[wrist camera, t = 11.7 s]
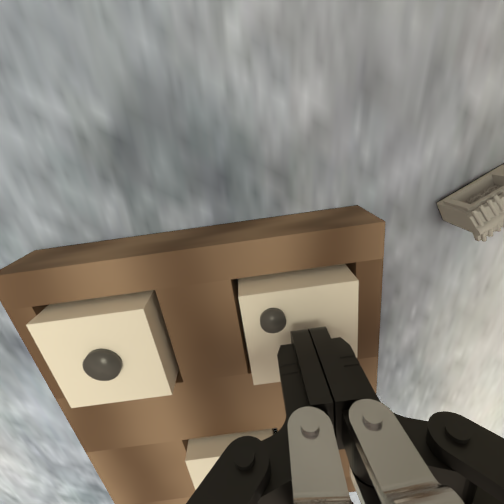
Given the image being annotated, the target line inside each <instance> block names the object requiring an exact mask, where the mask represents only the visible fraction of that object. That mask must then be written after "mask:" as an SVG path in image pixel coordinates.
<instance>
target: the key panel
mask: <svg viewBox="0 0 504 504" xmlns="http://www.w3.org/2000/svg"><path fill="white" fill-rule="evenodd" d="M384 238H385V221H384V220H382V219H380V218H378V217H377V216H375V215H373V214H372V213H370V212H368V211H366V210H365V209H363V208H361V207H360V206H358V205H356V206H348V207H341V208H334V209H327V210H320V211H313V212H306V213H299V214H291V215H284V216H277V217H270V218H263V219H256V220H249V221H241V222H234V223H227V224H220V225H213V226H206V227H199V228H191V229H184V230H177V231H170V232H163V233H156V234H149V235H141V236H134V237H127V238H120V239H113V240H106V241H99V242H92V243H84V244H77V245H70V246H63V247H56V248H49V249H42V250H35V251H33V252H31V253H29V254H27V255H26V256H24V257H22V258H20V259H18V260H17V261H15V262H13V263H11V264H9V265H8V266H6V267H4V268H2V269H0V301H1V303H2V305H3V307H4V308H5V310H6V312H7V314H8V315H9V317H10V319H11V321H12V322H13V324H14V326H15V328H16V330H17V331H18V333H19V335H20V337H21V338H22V340H23V342H24V344H25V345H26V347H27V349H28V351H29V353H30V354H31V356H32V358H33V360H34V361H35V363H36V365H37V367H38V368H39V370H40V372H41V374H42V376H43V377H44V379H45V381H46V383H47V384H48V386H49V388H50V390H51V392H52V393H53V395H54V397H55V399H56V400H57V402H58V404H59V406H60V407H61V409H62V411H63V413H64V415H65V416H66V418H67V420H68V422H69V423H70V425H71V427H72V429H73V430H74V432H75V434H76V436H77V438H78V439H79V441H80V443H81V445H82V446H83V448H84V450H85V452H86V454H87V455H88V457H89V459H90V461H91V462H92V464H93V466H94V468H95V469H96V471H97V473H98V475H99V477H100V478H101V480H102V482H103V484H104V485H105V487H106V489H107V491H108V492H109V494H110V496H111V498H112V500H113V501H114V503H115V504H186V503H187V501H188V500H189V499H190V497H191V496H192V495H193V493H194V492H195V487H194V485H193V482H192V479H191V476H190V473H189V471H188V468H187V465H186V462H185V458H186V452H187V447H188V441H189V439H195V438H202V437H210V436H218V435H226V434H233V433H241V432H249V431H256V430H264V429H272V428H277V430H278V431H279V430H280V429H281V427H282V426H283V424H284V422H285V419H286V412H285V406H284V400H283V393H282V387H281V382H275V383H267V384H259V385H254V383H253V378H252V372H251V367H250V361H249V355H248V350H247V344H246V338H245V333H244V327H243V321H242V316H241V310H240V304H239V299H238V283H237V279H238V278H245V277H252V276H260V275H267V274H274V273H281V272H289V271H296V270H303V269H311V268H318V267H325V266H332V265H340V264H346V266H347V267H348V268H349V269H350V270H351V272H352V273H353V274H354V275H355V277H356V278H357V279H358V280H359V290H358V349H357V359H358V361H359V363H360V366H361V367H362V369H363V371H364V372H365V374H366V376H367V378H368V380H369V382H370V384H371V386H372V388H373V390H374V392H375V393H376V386H377V368H378V349H379V331H380V312H381V294H382V275H383V256H384ZM150 290H155V291H156V295H157V298H158V301H159V304H160V308H161V311H162V314H163V317H164V321H165V324H166V327H167V330H168V334H169V337H170V340H171V343H172V347H173V350H174V353H175V356H176V360H177V363H178V366H179V371H178V375H177V379H176V382H175V386H174V390H173V394H172V395H168V396H160V397H152V398H145V399H137V400H130V401H122V402H115V403H107V404H99V405H92V406H84V407H77V408H71V407H70V405H69V403H68V401H67V399H66V398H65V396H64V394H63V392H62V390H61V388H60V387H59V385H58V383H57V381H56V379H55V377H54V376H53V374H52V372H51V370H50V368H49V366H48V365H47V363H46V361H45V359H44V357H43V355H42V354H41V352H40V350H39V348H38V346H37V344H36V343H35V341H34V339H33V337H32V335H31V333H30V332H29V330H28V328H27V326H26V324H28V323H29V322H30V321H31V320H32V319H33V318H34V317H35V316H37V315H38V314H39V313H40V312H41V311H42V310H43V309H45V308H46V307H47V306H48V305H49V304H56V303H63V302H70V301H77V300H85V299H92V298H99V297H107V296H114V295H121V294H128V293H136V292H143V291H150ZM339 454H340V459H341V463H342V467H343V471H344V475H345V480H346V484H347V488H348V492H354V491H356V490H355V487H354V484H353V482H352V479H351V477H350V473H349V461H348V458H347V455H346V452H345V449H341V450H339Z"/></svg>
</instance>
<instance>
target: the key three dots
mask: <svg viewBox="0 0 504 504" xmlns="http://www.w3.org/2000/svg"><path fill="white" fill-rule="evenodd" d="M272 435H274V428H272V429H264V430H256V431H249V432H241V433H233V434H226V435H218V436H210V437H202V438H195V439H189V441H188V447H187V452H186V458H185V462H186V465H187V468H188V471H189V473H190V476H191V479H192V482H193V485H194V487H195V490H196V489H197V488H198V486H199V485H200V484H201V482H202V481H203V479H204V478H205V477H206V475H207V474H208V473H209V471H210V470H211V468H212V467H213V466H214V464H215V463H216V461H217V460H218V459H219V457H220V456H221V455H222V453H223V452H224V450H225V449H226V448H227V446H228V445H229V444H230V443H231V442H232V441H234V440H235V439H237V438H239V437H242V436H253V437H256V438H258V439H259V440H261V441H262V440H264V439H266V438H268V437H270V436H272Z"/></svg>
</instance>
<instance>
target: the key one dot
mask: <svg viewBox="0 0 504 504" xmlns="http://www.w3.org/2000/svg"><path fill="white" fill-rule="evenodd" d="M26 326H27V328H28V330H29V332H30V333H31V335H32V337H33V339H34V341H35V343H36V344H37V346H38V348H39V350H40V352H41V354H42V355H43V357H44V359H45V361H46V363H47V365H48V366H49V368H50V370H51V372H52V374H53V376H54V377H55V379H56V381H57V383H58V385H59V387H60V388H61V390H62V392H63V394H64V396H65V398H66V399H67V401H68V403H69V405H70V407H71V408H77V407H84V406H92V405H99V404H107V403H115V402H122V401H130V400H137V399H145V398H152V397H160V396H168V395H172V394H173V390H174V386H175V382H176V379H177V375H178V371H179V366H178V363H177V360H176V356H175V353H174V350H173V347H172V343H171V340H170V337H169V334H168V330H167V327H166V324H165V321H164V317H163V314H162V311H161V308H160V304H159V301H158V298H157V295H156V291H155V290H150V291H143V292H136V293H128V294H121V295H114V296H107V297H99V298H92V299H85V300H77V301H70V302H63V303H56V304H49V305H48V306H47V307H46V308H45V309H43V310H42V311H41V312H40V313H39V314H38V315H37V316H35V317H34V318H33V319H32V320H31V321H30V322H29V323H28V324H26Z"/></svg>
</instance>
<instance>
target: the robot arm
mask: <svg viewBox="0 0 504 504" xmlns="http://www.w3.org/2000/svg"><path fill="white" fill-rule="evenodd" d="M290 334H291V344H286V345H280V348H279V351H278V354H277V358H278V366H279V373H280V381H281V387H282V393H283V400H284V406H285V412H286V419H285V422H284V424H283V426H282V427H281V429H280V430H279V431H278V432H277V433H275V434H274V435H272V436H270V437H268V438H266V439H264V440H262V441H261V440H259V439H258V438H256V437H253V436H242V437H239V438H237V439H235V440H234V441H232V442H231V443H230V444H229V445H228V446H227V448H226V449H225V450H224V452H223V453H222V455H221V456H220V457H219V459H218V460H217V461H216V463H215V464H214V466H213V467H212V468H211V470H210V471H209V473H208V474H207V475H206V477H205V478H204V479H203V481H202V482H201V484H200V485H199V486H198V488H197V489H196V490H195V492H194V493H193V495H192V496H191V497H190V499H189V500H188V501H187V503H186V504H353V502H351V499H350V496H349V492H348V488H347V484H346V480H345V475H344V471H343V467H342V463H341V459H340V454H339V450H341V449H345V452H346V455H347V458H348V461H349V473H350V477H351V479H352V482H353V484H354V487H355V490H356V492H357V495H358V497H359V500H360V502H361V504H504V438H502V437H500V436H498V435H496V434H495V433H493V432H491V431H489V430H487V429H485V428H484V427H482V426H480V425H478V424H476V423H474V422H472V421H471V420H469V419H467V418H465V417H463V416H461V415H458V414H456V413H452V412H437V413H435V414H433V415H432V416H431V417H430V419H429V421H423V420H417V419H411V418H406V417H402V416H400V415H397V414H395V413H393V412H392V411H391V410H390V409H389V408H388V407H387V406H386V405H384V404H383V403H381V402H380V401H379V399H378V397H377V395H376V393H375V392H374V390H373V388H372V386H371V384H370V382H369V380H368V378H367V376H366V374H365V372H364V371H363V369H362V367H361V366H360V363H359V361H358V359H357V357H356V356H355V353H354V351H353V350H352V348H351V346H350V345H349V344H348V343H347V342H346V341H345V340H344V339H342V338H341V337H337V338H331V337H330V334H329V332H328V330H327V328H326V327H325V326H324V327H317V328H309V329H302V330H295V331H290Z"/></svg>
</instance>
